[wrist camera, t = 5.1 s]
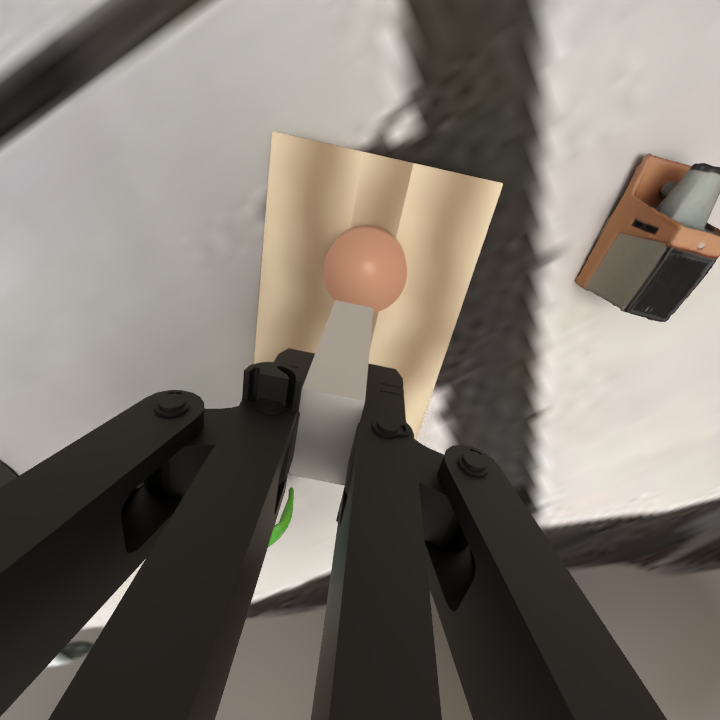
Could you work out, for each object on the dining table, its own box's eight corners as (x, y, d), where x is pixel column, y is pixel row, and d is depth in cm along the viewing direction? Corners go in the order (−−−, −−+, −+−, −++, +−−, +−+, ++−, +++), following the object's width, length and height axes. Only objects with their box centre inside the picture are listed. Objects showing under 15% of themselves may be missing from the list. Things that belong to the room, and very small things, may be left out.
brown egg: (330, 277, 31) (317, 304, 25) (342, 209, 28) (330, 221, 22) (394, 291, 31) (395, 320, 25) (411, 224, 28) (416, 240, 23)
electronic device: (696, 168, 27) (795, 171, 20) (622, 296, 32) (684, 332, 25) (637, 153, 27) (717, 151, 20) (571, 283, 31) (620, 317, 25)
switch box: (266, 406, 39) (247, 445, 33) (294, 137, 28) (272, 131, 22) (401, 433, 39) (403, 476, 34) (481, 179, 28) (503, 183, 23)
